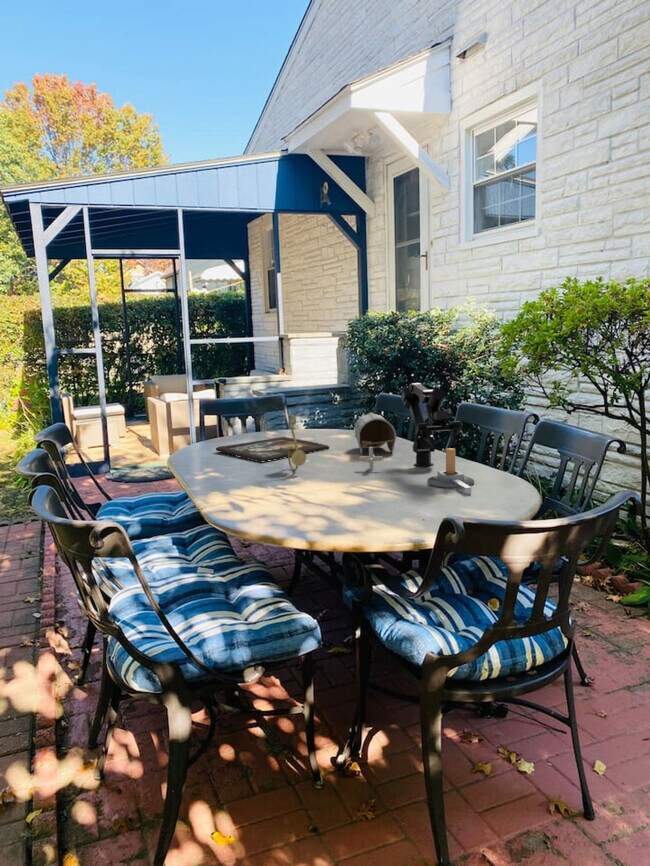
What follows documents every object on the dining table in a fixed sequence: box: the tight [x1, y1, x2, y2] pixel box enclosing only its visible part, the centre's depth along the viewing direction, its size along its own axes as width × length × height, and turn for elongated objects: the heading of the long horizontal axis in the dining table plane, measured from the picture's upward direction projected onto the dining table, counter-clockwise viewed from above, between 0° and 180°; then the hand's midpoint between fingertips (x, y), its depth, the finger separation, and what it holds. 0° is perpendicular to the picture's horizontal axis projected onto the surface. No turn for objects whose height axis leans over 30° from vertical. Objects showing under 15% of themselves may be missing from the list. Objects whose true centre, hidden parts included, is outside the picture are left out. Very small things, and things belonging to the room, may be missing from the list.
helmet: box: [354, 412, 397, 455], centre depth 321 cm, size 19×18×30 cm
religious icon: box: [215, 436, 330, 462], centre depth 331 cm, size 40×45×3 cm
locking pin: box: [445, 447, 456, 475], centre depth 253 cm, size 4×4×12 cm
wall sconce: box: [281, 414, 307, 472], centre depth 282 cm, size 14×10×25 cm
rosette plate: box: [427, 469, 475, 495], centre depth 250 cm, size 27×18×4 cm, turn 10°
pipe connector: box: [359, 447, 384, 471], centre depth 281 cm, size 10×10×10 cm
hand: (443, 445), depth 259 cm, fingers open, 9 cm apart
